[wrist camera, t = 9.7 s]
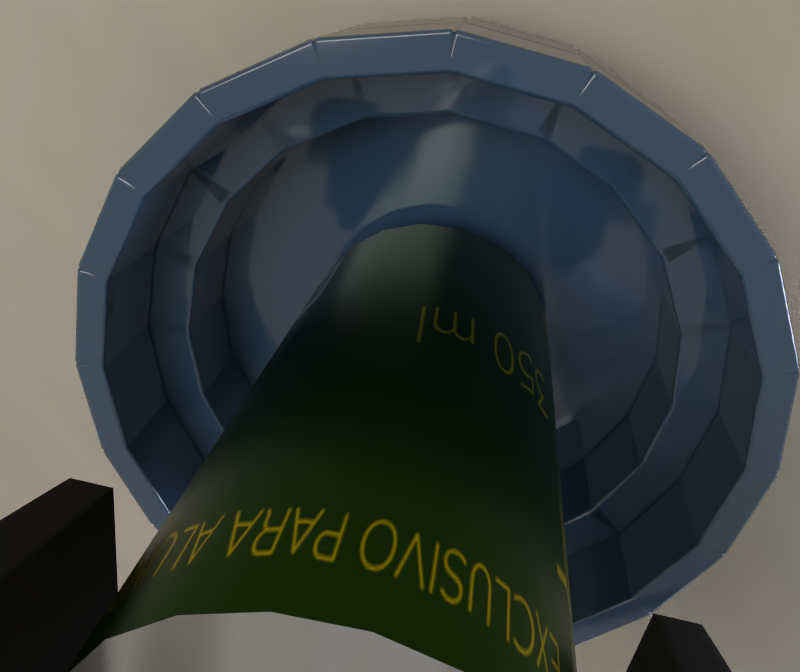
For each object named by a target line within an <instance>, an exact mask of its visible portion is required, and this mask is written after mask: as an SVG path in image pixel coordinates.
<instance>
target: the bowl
mask: <svg viewBox="0 0 800 672" xmlns="http://www.w3.org/2000/svg"><path fill="white" fill-rule="evenodd" d="M417 224H429V225H436V226H443V227H450V228H457V229H463V230H465V231H467V232H469V233H471V234H473V235H475V236H477V237H480V238H482V239H484V240H486V241H488V242H490V243H492V244H494V245H496V246H498V247H500V248H501V249H502V250H503V251H504V252H505V253H506V254H507V255H508V256H509V257H510V258H511V259H512V260H513V261H514V262H515V263H516V264H518V265H519V266H520V267H521V268H522V269H523V270H524V271H525V272H526V273H527V274H528V276H529V278H530V280H531V282H532V284H533V286H534V288H535V290H536V292H537V293H538V295H539V297H540V299H541V301H542V303H543V305H544V309H545V316H546V324H547V331H548V338H549V349H550V361H551V373H552V384H553V396H554V408H555V420H556V432H557V444H558V455H559V467H560V479H561V491H562V503H563V515H564V526H565V538H566V550H567V562H568V574H569V585H570V597H571V609H572V621H573V633H574V645H577V644H579V643H582V642H584V641H587V640H589V639H592V638H594V637H597V636H599V635H602V634H604V633H606V632H609V631H611V630H614V629H616V628H619V627H621V626H624V625H626V624H628V623H631V622H633V621H636V620H638V619H641V618H643V617H646V616H648V615H649V614H650V612H651V613H652V612H654V611H655V610H656V609H658V608H659V607H660V606H661V605H663V604H664V603H665V602H667V601H668V600H669V599H670V598H672V597H673V596H674V595H675V594H677V593H678V592H679V591H680V590H682V589H683V588H684V587H686V586H687V585H688V584H689V583H691V582H692V581H693V580H694V579H696V578H697V577H698V576H699V575H701V574H702V573H703V572H705V571H706V570H707V569H708V568H710V567H711V566H712V565H713V564H715V563H716V562H717V561H719V560H720V559H721V558H722V557H723V554H726V553H727V552H728V550H729V549H730V547H731V546H732V544H733V543H734V541H735V540H736V538H737V536H738V535H739V533H740V532H741V530H742V529H743V527H744V526H745V524H746V523H747V521H748V520H749V518H750V517H751V515H752V513H753V512H754V510H755V509H756V507H757V506H758V504H759V503H760V501H761V500H762V498H763V497H764V495H765V494H766V492H767V490H768V489H769V487H770V486H771V484H772V483H773V481H774V480H775V478H776V477H777V472H778V471H779V468H780V463H781V458H782V454H783V449H784V444H785V439H786V435H787V430H788V425H789V420H790V416H791V411H792V406H793V401H794V396H795V392H796V387H797V382H798V377H799V372H798V371H799V368H800V367H799V361H798V356H797V351H796V346H795V340H794V335H793V330H792V325H791V319H790V314H789V309H788V304H787V299H786V293H785V288H784V283H783V278H782V272H781V267H780V262H779V260H778V259H777V258H776V253H775V251H774V250H773V248H772V247H771V245H770V244H769V242H768V241H767V239H766V238H765V236H764V235H763V233H762V232H761V230H760V228H759V227H758V225H757V224H756V222H755V221H754V219H753V218H752V216H751V215H750V213H749V212H748V210H747V209H746V207H745V206H744V204H743V203H742V201H741V199H740V198H739V196H738V195H737V193H736V192H735V190H734V189H733V187H732V186H731V184H730V183H729V181H728V180H727V178H726V177H725V175H724V173H723V172H722V170H721V169H720V167H719V166H718V164H717V163H716V161H715V160H714V158H713V157H712V155H711V154H710V153H709V152H708V151H707V150H706V149H705V148H704V147H703V146H702V145H701V144H700V143H699V142H698V141H697V140H696V139H695V138H693V137H692V136H691V135H690V134H689V133H688V132H687V131H686V130H685V129H683V128H682V127H681V126H680V125H679V124H677V123H676V122H675V121H674V120H673V119H672V118H671V117H670V116H669V115H668V114H667V113H665V112H664V111H663V110H662V109H661V108H660V107H659V106H657V105H656V104H655V103H653V102H652V101H651V100H649V99H648V98H646V97H645V96H644V95H642V94H641V93H639V92H638V91H637V90H635V89H634V88H633V87H631V86H630V85H628V84H627V83H626V82H624V81H623V80H621V79H620V78H619V77H617V76H616V75H615V74H613V73H612V72H610V71H609V70H608V69H606V68H605V67H603V66H602V65H601V64H599V63H598V62H597V61H595V60H594V59H592V58H591V57H590V56H588V55H587V54H585V53H584V52H583V51H581V50H580V49H575V48H574V47H573V46H572V45H569V44H566V43H562V42H559V41H555V40H552V39H548V38H545V37H541V36H537V35H534V34H530V33H527V32H523V31H520V30H516V29H513V28H509V27H506V26H502V25H499V24H495V23H492V22H488V21H485V20H481V19H478V18H474V17H473V18H470V19H469V18H467V17H454V18H440V19H425V20H411V21H397V22H382V23H368V24H364V25H358V26H355V27H351V28H348V29H344V30H341V31H338V32H335V33H331V34H328V35H324V36H321V37H317V38H314V39H310V40H308V41H305V42H303V43H301V44H299V45H296V46H294V47H292V48H290V49H288V50H285V51H283V52H281V53H279V54H276V55H274V56H272V57H270V58H268V59H265V60H263V61H261V62H259V63H256V64H254V65H252V66H250V67H247V68H245V69H243V70H241V71H239V72H236V73H234V74H232V75H230V76H227V77H225V78H223V79H221V80H219V81H216V82H214V83H212V84H210V85H207V86H205V87H203V88H201V89H200V90H199V92H196V93H194V94H193V95H192V96H191V97H190V98H189V99H188V100H187V101H186V102H185V103H184V104H183V105H182V106H181V107H180V108H179V109H178V110H177V111H176V112H175V113H174V114H173V115H172V116H171V117H170V118H169V119H168V120H167V121H166V122H165V123H164V124H163V125H162V126H161V128H160V129H159V130H158V131H157V132H156V133H155V134H154V135H153V136H152V137H151V138H150V139H149V140H148V141H147V142H146V143H145V144H144V145H143V146H142V147H141V148H140V149H139V150H138V151H137V152H136V153H135V154H134V155H133V156H132V157H131V158H130V159H129V160H128V161H127V162H126V163H125V164H124V165H123V166H122V167H121V168H120V170H119V173H118V174H117V175H116V176H115V179H114V181H113V183H112V186H111V188H110V191H109V193H108V196H107V198H106V200H105V203H104V205H103V208H102V210H101V212H100V215H99V217H98V220H97V222H96V225H95V227H94V229H93V232H92V234H91V237H90V239H89V241H88V244H87V246H86V249H85V251H84V254H83V256H82V258H81V261H80V263H79V269H78V282H77V320H76V358H75V360H76V362H77V364H76V366H77V370H78V373H79V376H80V379H81V383H82V386H83V389H84V392H85V395H86V399H87V402H88V405H89V408H90V411H91V415H92V418H93V421H94V424H95V428H96V431H97V434H98V437H99V440H100V444H101V447H102V448H103V449H104V453H105V455H106V456H107V458H108V459H109V461H110V462H111V464H112V465H113V467H114V468H115V470H116V471H117V473H118V474H119V476H120V477H121V479H122V480H123V482H124V483H125V485H126V486H127V488H128V489H129V491H130V492H131V494H132V495H133V497H134V498H135V500H136V501H137V503H138V504H139V506H140V507H141V509H142V510H143V512H144V513H145V515H146V516H147V518H148V519H149V521H150V522H151V523H152V524H154V527H155V528H156V529H157V530H158V531H159V529H160V528H161V526H162V525H163V523H164V522H165V520H166V519H167V517H168V515H169V514H170V512H171V511H172V509H173V508H174V506H175V505H176V503H177V502H178V500H179V499H180V497H181V496H182V494H183V492H184V491H185V489H186V488H187V486H188V485H189V483H190V482H191V480H192V479H193V477H194V476H195V474H196V473H197V471H198V470H199V468H200V466H201V465H202V463H203V462H204V460H205V459H206V457H207V456H208V454H209V453H210V451H211V450H212V448H213V447H214V445H215V443H216V442H217V440H218V439H219V437H220V436H221V434H222V433H223V431H224V430H225V428H226V427H227V425H228V424H229V422H230V421H231V419H232V417H233V416H234V414H235V413H236V411H237V410H238V408H239V407H240V405H241V404H242V402H243V401H244V399H245V398H246V396H247V394H248V393H249V391H250V390H251V388H252V387H253V385H254V384H255V382H256V381H257V379H258V378H259V376H260V375H261V373H262V372H263V370H264V368H265V367H266V365H267V364H268V362H269V361H270V359H271V358H272V356H273V355H274V353H275V352H276V350H277V349H278V347H279V345H280V344H281V342H282V341H283V339H284V338H285V336H286V335H287V333H288V332H289V330H290V329H291V327H292V326H293V324H294V323H295V321H296V319H297V318H298V316H299V315H300V313H301V312H302V310H303V309H304V307H305V306H306V304H307V303H308V301H309V300H310V298H311V296H312V295H313V293H314V292H315V290H316V289H317V287H318V286H319V284H320V283H321V281H322V280H323V278H324V277H325V275H326V274H327V272H328V271H329V270H330V269H331V268H332V267H333V266H334V265H335V264H336V263H337V261H338V260H339V259H340V258H341V257H342V256H343V255H344V254H345V253H346V252H347V251H348V250H349V249H350V248H351V247H352V246H354V245H356V244H358V243H360V242H362V241H364V240H365V239H367V238H369V237H371V236H373V235H375V234H377V233H379V232H381V231H383V230H386V229H392V228H398V227H404V226H411V225H417Z"/></svg>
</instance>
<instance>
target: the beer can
mask: <svg viewBox="0 0 800 672" xmlns="http://www.w3.org/2000/svg"><path fill="white" fill-rule="evenodd" d="M67 672H577V668H576V656H575V645H574V633H573V621H572V609H571V597H570V585H569V574H568V562H567V550H566V538H565V526H564V515H563V503H562V491H561V479H560V467H559V455H558V444H557V432H556V420H555V408H554V396H553V384H552V373H551V361H550V349H549V338H548V331H547V324H546V316H545V309H544V305H543V303H542V301H541V299H540V297H539V295H538V293H537V292H536V290H535V288H534V286H533V284H532V282H531V280H530V278H529V276H528V274H527V273H526V272H525V271H524V270H523V269H522V268H521V267H520V266H519V265H518V264H516V263H515V262H514V261H513V260H512V259H511V258H510V257H509V256H508V255H507V254H506V253H505V252H504V251H503V250H502V249H501V248H500V247H498V246H496V245H494V244H492V243H490V242H488V241H486V240H484V239H482V238H480V237H477V236H475V235H473V234H471V233H469V232H467V231H465V230H463V229H457V228H450V227H443V226H436V225H429V224H417V225H411V226H404V227H398V228H392V229H386V230H383V231H381V232H379V233H377V234H375V235H373V236H371V237H369V238H367V239H365V240H364V241H362V242H360V243H358V244H356V245H354V246H352V247H351V248H350V249H349V250H348V251H347V252H346V253H345V254H344V255H343V256H342V257H341V258H340V259H339V260H338V261H337V263H336V264H335V265H334V266H333V267H332V268H331V269H330V270H329V271H328V272H327V274H326V275H325V277H324V278H323V280H322V281H321V283H320V284H319V286H318V287H317V289H316V290H315V292H314V293H313V295H312V296H311V298H310V300H309V301H308V303H307V304H306V306H305V307H304V309H303V310H302V312H301V313H300V315H299V316H298V318H297V319H296V321H295V323H294V324H293V326H292V327H291V329H290V330H289V332H288V333H287V335H286V336H285V338H284V339H283V341H282V342H281V344H280V345H279V347H278V349H277V350H276V352H275V353H274V355H273V356H272V358H271V359H270V361H269V362H268V364H267V365H266V367H265V368H264V370H263V372H262V373H261V375H260V376H259V378H258V379H257V381H256V382H255V384H254V385H253V387H252V388H251V390H250V391H249V393H248V394H247V396H246V398H245V399H244V401H243V402H242V404H241V405H240V407H239V408H238V410H237V411H236V413H235V414H234V416H233V417H232V419H231V421H230V422H229V424H228V425H227V427H226V428H225V430H224V431H223V433H222V434H221V436H220V437H219V439H218V440H217V442H216V443H215V445H214V447H213V448H212V450H211V451H210V453H209V454H208V456H207V457H206V459H205V460H204V462H203V463H202V465H201V466H200V468H199V470H198V471H197V473H196V474H195V476H194V477H193V479H192V480H191V482H190V483H189V485H188V486H187V488H186V489H185V491H184V492H183V494H182V496H181V497H180V499H179V500H178V502H177V503H176V505H175V506H174V508H173V509H172V511H171V512H170V514H169V515H168V517H167V519H166V520H165V522H164V523H163V525H162V526H161V528H160V529H159V531H158V532H157V534H156V535H155V537H154V538H153V540H152V541H151V543H150V545H149V546H148V548H147V549H146V551H145V552H144V554H143V555H142V557H141V558H140V560H139V561H138V563H137V564H136V566H135V567H134V569H133V571H132V572H131V574H130V575H129V577H128V578H127V580H126V581H125V583H124V584H123V586H122V587H121V589H120V590H119V592H118V594H117V595H116V597H115V598H114V600H113V601H112V603H111V604H110V606H109V607H108V609H107V610H106V612H105V613H104V615H103V616H102V618H101V620H100V621H99V623H98V624H97V626H96V627H95V629H94V630H93V632H92V633H91V635H90V636H89V638H88V639H87V641H86V643H85V644H84V646H83V647H82V649H81V650H80V652H79V653H78V655H77V656H76V658H75V659H74V661H73V662H72V664H71V665H70V667H69V669H68V670H67Z"/></svg>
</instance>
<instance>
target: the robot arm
mask: <svg viewBox="0 0 800 672" xmlns="http://www.w3.org/2000/svg"><path fill="white" fill-rule="evenodd" d="M117 594H118V586H117V564H116V541H115V519H114V496H113V488H110V487H106V486H102V485H97V484H93V483H89V482H85V481H80V480H76V479H72V478H69V479H68V480H66V481H64V482H63V483H61V484H59V485H58V486H56V487H54V488H52V489H51V490H49V491H48V492H46V493H44V494H43V495H41V496H39V497H38V498H36V499H34V500H33V501H31V502H29V503H28V504H26V505H25V506H23V507H21V508H20V509H18V510H16V511H15V512H13V513H11V514H10V515H8V516H7V517H5V518H3V519H2V520H0V672H67V670H68V669H69V667H70V665H71V664H72V662H73V661H74V659H75V658H76V656H77V655H78V653H79V652H80V650H81V649H82V647H83V646H84V644H85V643H86V641H87V639H88V638H89V636H90V635H91V633H92V632H93V630H94V629H95V627H96V626H97V624H98V623H99V621H100V620H101V618H102V616H103V615H104V613H105V612H106V610H107V609H108V607H109V606H110V604H111V603H112V601H113V600H114V598H115V597H116V595H117ZM626 672H731V670H730V668H729V667H728V665H727V664H726V662H725V660H724V659H723V657H722V656H721V654H720V653H719V651H718V649H717V648H716V646H715V645H714V643H713V641H712V640H711V638H710V637H709V635H708V634H707V632H706V630H705V629H704V627H703V626H702V625H701V624H696V623H692V622H688V621H683V620H679V619H675V618H671V617H666V616H662V615H658V614H653V616H652V618H651V620H650V622H649V624H648V626H647V629H646V631H645V633H644V635H643V637H642V639H641V641H640V643H639V646H638V648H637V650H636V652H635V654H634V656H633V658H632V660H631V663H630V665H629V667H628V669H627V671H626Z"/></svg>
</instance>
